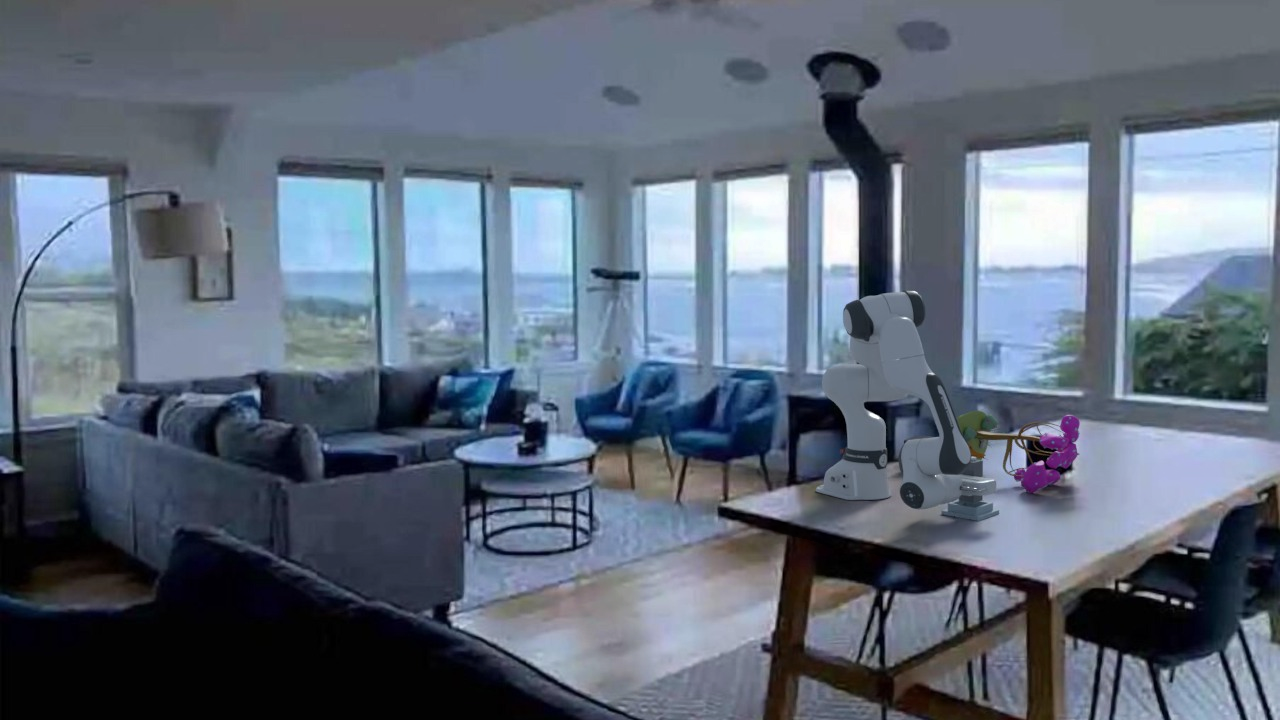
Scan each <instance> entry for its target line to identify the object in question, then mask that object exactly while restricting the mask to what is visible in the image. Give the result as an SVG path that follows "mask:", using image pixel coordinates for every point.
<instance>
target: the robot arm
mask: <svg viewBox="0 0 1280 720" xmlns="http://www.w3.org/2000/svg"><path fill="white" fill-rule="evenodd" d="M925 319H926V306H925V302H924V300H923V297H922V296H921V294H919V293H918V292H917V291H915V290H903V291H896V292H886V293H880V294H878V295H867V296H864V297H863V298H861V299H856V300H855V299H854V300H851V301H850V302H848V303H846V305H845V306H844V308H843V312H842V325H843V327H844V329H845V330H846V334H847V335H849V336H850V337H849V353H850V355H851V357H852V358H853V359H854V361H855V362H857V363H853V364H851V363H850V364H849V363H846V364H845V363H844V364H839V365H833V366H829V367H828V368H827V369H826V370H825V372H824V373H823V375H822V377H821V387H822V391H823V393H824V394H825V396H826V397H827V398H828V399H829V400H830V401H832V402H834V404H835V405H836V406H837V407H838V408H839V410H840V411H841V413H842V415H843V417H844V419H845V424H846V434H847V435H846V436H847V446H846V447H845V448H842V449H840V450H839V451H840V452H839V454H843V456H842V458H841V460H839V461H838V462H837V463H835V464H834V465H833V466H831V467H829V468H828V469H827V470H826V471H825V473H824V478H823V484H821V485H818V486H817V487H816V488H815V492H817V493H820V494H824V495H827V496H831V497H835V498H839V499H843V500H846V501H857V500H860V501H861V500H865V501H867V500H868V501H869V500H870V501H872V500H873V501H874V500H883V499H888V498H890V497H891V496H892V493H891V488H890V486H889V480H888V473H887V472H888V471H887V470H888V469H887V466H888V448H887V447H886V446H887V445H886V444H887V443H886V440H887V439H886V438H887V437H886V436H887V433H886V432H887V431H886V429H887V427H886V423H885V421H884V419H883V418H882V417H880V415H878V414H875V413H874V412H872V411H870V410H868V409H866V408H865V403H867V402H893V401H894V402H895V401H898V400H903V399H905V398H906V397H907V396H909V395H910V396H913V397H915V398H919V399H920V400H922V401H924V402H925V403H926V404H927V406H928V407H929V409H930V412H931V414H932V418H933V421H934V423H935V425H936V429H937V430H938V431H937V432H938V434H939V436H936V437H935V436H932V437H933V438H921V439H913V440H908V441H906V442H905V443H904V442H903V444H902V446H901V448H900V451H899V454H898V466H899V467H898V468H899V471H900V474H901V476H902V481H901V484H900V486H899V496H900V498H901V500H902V502H903V503H904V504H905V505H906V506H908V507H910V508H911V509H914V510H919V511H920V510H921V511H923V510H927V509H932V508H936V507H938V506H940V505H946V504H948V503H950V502H954V501H957V500H959V497H960V496H961V494H962V493H963V494H970V495H977V496H982V495H983V496H987V495H993V494H995V493H996V492H997V480H996V479H995V478H988V477H984V476H983V477H980V476H979V477H976V476H969V475H962V474H961V473H962V472H963V471H964V470H965V469H966V468H967V467H968V465H969V463H970V461H971V450H970V447H969V445H968V443H967V441H966V439H965V437H964V436H963V434H962V432H961V429H960V427H959V424H958V421H957V418H958V417H957V416H956V413H955V410H954V408H953V404H952V402H951V400H950V397H949V395H948V394H949V393H948V391H947V389H946V387H945V383H944V382H943V380H942V379H941V377H940V376H939V375H938V374H935V372H933V371H932V369H931V368H930V367H929V365H928V363H927V361H926V357H925V352H924V348H923V344H922V341H921V337H920V334H919V332H918V329H917V328H918V327H921V326H922V324H923V323H924V321H925Z"/></svg>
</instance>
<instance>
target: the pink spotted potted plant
mask: <svg viewBox="0 0 1280 720" xmlns="http://www.w3.org/2000/svg"><path fill="white" fill-rule="evenodd" d="M956 418H957V421H958V424H959V427H960V429H961V432H962V434H963V436H964V437H965V439H966V441H967V443H968V445H969V447H970V450H971V457H976V460H983V459H985V460H987V458H986V457H985V456H986V452H987V448H988V446H990V443H992V444H995V442H994V441H1004V440H1005V441H1006V446H1005V447H1006V448H1005V452H1004V453H1005V454H1004V457H1003V461H1002V469H1003V470H1004V472H1005V474H1007V475H1010V476H1011V477H1012V476H1013V478H1014V481H1015V482H1016V483H1017V482H1020V485H1021V489H1023V490H1025V493H1030V494H1034V493H1036V492H1038V491H1040V490H1042V489H1043V488H1046V487H1047V486H1051V487H1052V486H1054V484H1056V483H1058V481H1060V480H1062V479H1061V478H1062V477H1061V474H1060V472H1059V471H1057V470H1056V469H1057V468H1058V467H1061V468H1062V469H1066V470H1067V469H1068V468H1069V467H1070V466H1071V465H1072V464H1073V462H1074V461H1076V459H1077V457H1078V456H1080V453H1079V452H1078V449H1077V444H1076V442H1078V439H1079V437H1080V431H1079V428H1080V425H1081V423H1080V419H1078V417H1076V415H1073V414H1067V415H1064V416H1063V417H1062V418H1061V422H1060V425H1058V424H1055V423H1051V422H1048V421H1047V422H1046V421H1033V422H1028V423H1026V424H1024V425H1023V426H1022V427H1021V428H1020V429H1019V431H1018V433H1017V434H1016V433H1000V432H994V431H998V430H999V428H998V425H999V422H998V420H997V419H996V418H995V417H994V416H993V415H992V414H991V413H990V414H988V415H987V414H986V413H985V412H983V411H982V410H972V411H969V412H966V413H964V414H961V415H959V416H958V417H956ZM1051 425H1052V426H1051ZM1039 426H1045V427H1049V428H1052V429H1054V430H1055V431H1058V432H1060V433H1062V435H1061V434H1059V435H1057V434H1053V433H1049V432H1045V433H1043V434H1042V433H1041V431H1040V429H1039ZM1053 426H1056V427H1059V428H1060V430H1059V429H1057V428H1055V427H1053ZM1034 427H1036V429H1037V431H1038V433H1039V434H1040V437H1039V436H1035V435H1027V434H1023V433H1025V432H1026V431H1028V430H1029V429H1032V428H1034ZM996 428H997V429H996ZM1019 440H1020V442H1021V444H1022V445H1021V444H1020V442H1019ZM989 441H991V442H989ZM992 441H993V442H992ZM1013 441H1014V443H1015V444H1016V446H1017V447H1019V449H1022V450H1024V452H1025V453H1026V455H1027V457H1028V459H1029V461H1030V463H1031V464H1030V465H1029V466H1028V467H1027V468H1025V467H1018V468H1015V469H1013V466H1012V451H1013ZM1025 441H1032V444H1033V447H1034V448H1035V449H1036V450H1037V451H1033V450H1031V449H1028V447H1027V446H1026V444H1025ZM1035 442H1039V444H1040V445H1041V446H1042V447H1043V449H1050V450H1051V451H1044V450H1041V449H1039V448H1038V446H1036V444H1035ZM992 444H991V447H992V446H993V447H994V445H992ZM1052 450H1056V451H1054V452H1053V451H1052ZM1030 453H1032V454H1036V455H1041V456H1048V457H1047V459H1046V461H1045V462H1044V460H1039V461H1037V462H1033V460H1032V458H1031V455H1030ZM1045 453H1047V454H1045ZM1008 458H1009V465H1010V468H1011V470H1010V471H1008V470H1007V467H1006V466H1007V461H1008ZM1045 464H1046V465H1047V466H1048V467H1049V468H1051V469H1046V465H1045ZM1012 472H1014V473H1012Z"/></svg>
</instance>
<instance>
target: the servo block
mask: <svg viewBox="0 0 1280 720" xmlns="http://www.w3.org/2000/svg"><path fill="white" fill-rule="evenodd" d="M983 464H984V461H983V459H982V460H976V457H971V461H970V463H969V465H968V467H967V468H966V469H965V470H964V471H963V472H962V473H961V474H962V475H969V476H976V477H979V476H980V477H984V475H983V474H984V472H983V471H984V470H983V469H984V465H983ZM983 497H984V495H982V496H977V495H970V494H963V493H962V494H961V496H960V497H959V498H958V500H959V501H964V502H970V503H976V502H979V501H982V500H984V499H983Z"/></svg>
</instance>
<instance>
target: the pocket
mask: <svg viewBox="0 0 1280 720" xmlns="http://www.w3.org/2000/svg"><path fill="white" fill-rule="evenodd" d="M943 514H944V516H949V517H954V516H955V518H961V519H965V520H970V519H971V521H977V522H979V521H983V520H985V519H988V518H990V517H994V516H996V515H999V514H1000V510H999V509H995V508H994V503H993V502H990V501H985V499H982V501H979V502H976V503H970V502H964V501H959V499H957V500H955V501H953V502H949V503H947V508H946V509H942V510H941V515H943Z"/></svg>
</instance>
